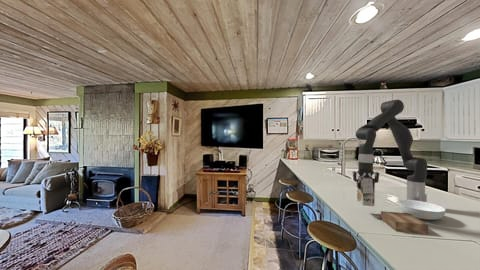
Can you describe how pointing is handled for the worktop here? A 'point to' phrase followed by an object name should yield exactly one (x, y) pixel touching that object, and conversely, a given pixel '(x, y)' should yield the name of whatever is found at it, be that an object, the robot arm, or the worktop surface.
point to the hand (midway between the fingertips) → (365, 188)
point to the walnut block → (404, 222)
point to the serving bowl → (421, 209)
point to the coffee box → (366, 191)
